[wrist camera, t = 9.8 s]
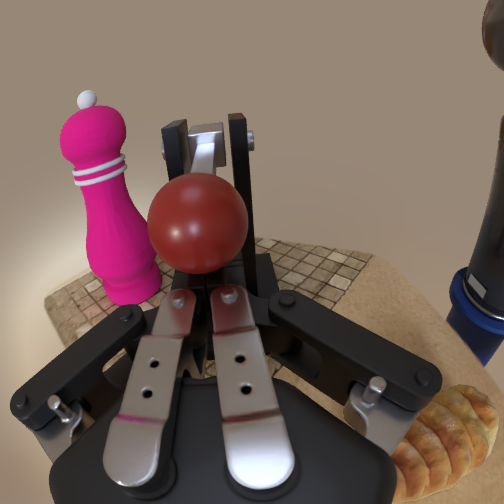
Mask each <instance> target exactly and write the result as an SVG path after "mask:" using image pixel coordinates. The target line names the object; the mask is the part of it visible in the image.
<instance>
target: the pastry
mask: <svg viewBox="0 0 504 504" xmlns="http://www.w3.org/2000/svg"><path fill="white" fill-rule="evenodd" d="M498 428H499V418H498V414H497V412H496V409H495V407H494V406H493V404H492V402H491V401H490V399H489V398H488V396H487V395H485V394H483V393H481V392H479V391H478V390H477V389H476V388H475V387H472V386H468V385H460V384H459V385H457V386H454V387H451V388H449V389H448V390H445V391H442V392H438V393H437V394H436V395H435V397H434V398H433V399H432V400H431V402H430V403H429V404H428V405H427V407H426V408H425V409H424V410H423V411H422V412H421V414H420V415H419V416H418V417H417V418H416V419H415V420H414V422H413V423H412V425H411V427H410V428H409V430H408V431H407V433H406V435H405V436H404V438H403V439H402V441H401V442H400V444H399V445H398V447H397V448H396V450H395V451H394V453H393V454H392V456H391V458H392V460H393V462H394V464H395V466H396V470H397V478H398V479H397V487H396V491H395V494H394V497H393V501H392V504H400V503H403V502H407V501H416V500H420V499H423V498H426V497H428V496H430V495H431V494H434V493H436V492H439V491H444V490H448V489H451V488H452V487H453V486H455V484H457V482H458V481H459V480H460V479H461V478H463V477H464V476H465V475H466V474H468V473H469V472H470V471H471V470H472V469H474V468H476V467H479V466H480V465H481V464H482V463H483V462H484V460H485V458H487V457H488V456H489V455H490V453H491V451H492V448H493V444H494V442H495V439H496V433H497V430H498Z"/></svg>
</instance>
